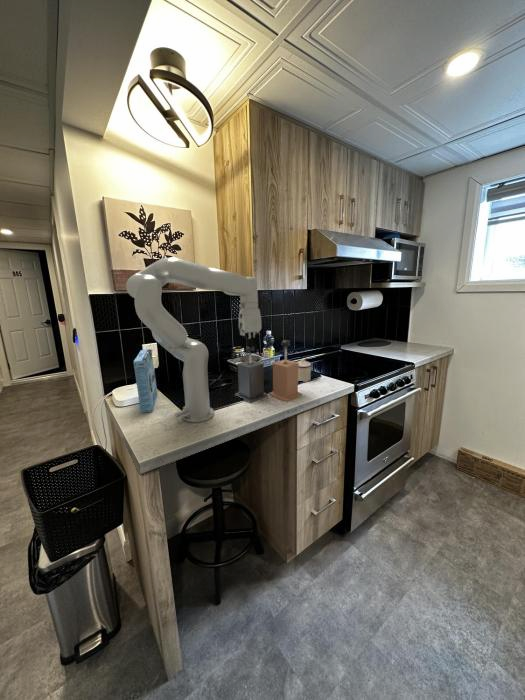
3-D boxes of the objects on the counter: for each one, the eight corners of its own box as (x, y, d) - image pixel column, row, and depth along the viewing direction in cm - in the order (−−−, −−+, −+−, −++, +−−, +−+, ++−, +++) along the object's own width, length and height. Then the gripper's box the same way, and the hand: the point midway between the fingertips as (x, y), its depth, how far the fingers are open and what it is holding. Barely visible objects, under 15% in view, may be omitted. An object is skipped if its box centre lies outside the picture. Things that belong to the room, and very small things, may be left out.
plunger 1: (250, 385, 123) (249, 349, 119) (240, 381, 128) (239, 346, 124) (261, 381, 128) (260, 346, 123) (251, 378, 133) (250, 344, 128)
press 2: (286, 402, 122) (286, 368, 118) (266, 394, 131) (266, 362, 127) (301, 395, 130) (302, 363, 126) (282, 388, 139) (282, 357, 134)
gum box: (152, 412, 115) (146, 360, 109) (139, 413, 114) (132, 361, 108) (157, 393, 134) (152, 348, 128) (146, 395, 132) (140, 349, 126)
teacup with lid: (314, 380, 148) (315, 360, 145) (300, 383, 144) (301, 362, 141) (301, 374, 159) (301, 354, 156) (288, 376, 155) (288, 357, 152)
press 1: (250, 403, 122) (249, 369, 118) (233, 395, 131) (231, 363, 127) (267, 395, 130) (267, 363, 125) (250, 388, 138) (249, 358, 134)
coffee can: (243, 379, 152) (242, 354, 148) (261, 379, 151) (261, 355, 147) (239, 386, 142) (238, 360, 138) (259, 386, 141) (259, 360, 137)
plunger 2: (286, 380, 123) (286, 343, 118) (275, 376, 128) (275, 341, 123) (295, 376, 127) (296, 341, 123) (285, 373, 132) (285, 338, 128)
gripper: (241, 308, 111) (242, 351, 116) (267, 305, 121) (267, 345, 126) (230, 306, 117) (232, 348, 121) (256, 304, 127) (257, 342, 131)
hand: (250, 346), depth 124 cm, fingers closed
